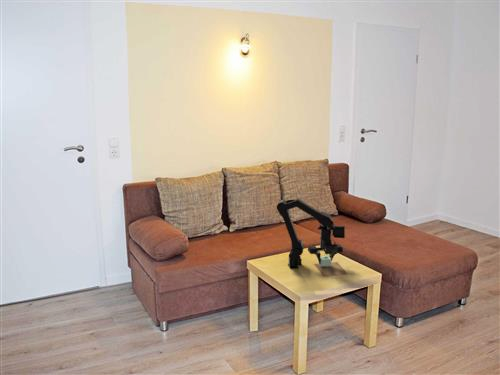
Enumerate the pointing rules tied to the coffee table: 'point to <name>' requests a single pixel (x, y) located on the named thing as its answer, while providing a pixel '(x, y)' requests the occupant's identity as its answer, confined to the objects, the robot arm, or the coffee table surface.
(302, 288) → the coffee table surface
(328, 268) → the board
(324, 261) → the pale green knobbed block
